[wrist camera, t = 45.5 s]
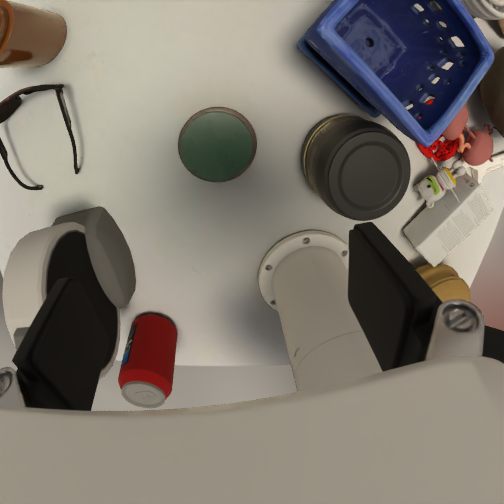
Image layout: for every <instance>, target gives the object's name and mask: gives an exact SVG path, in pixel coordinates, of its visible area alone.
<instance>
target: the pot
mask: <svg viewBox="0 0 504 504" xmlns="http://www.w3.org/2000/svg"><path fill="white" fill-rule="evenodd" d="M415 270H416V271H417V272H418V273H419V274H420V276H421V277H422V278H423V279H424V280H425V281H426V283H427V284H428V285H429V286H430V287H431V289H432V290H433V291H434V292H435V294H436V295H437V296H438V297H439V299H440V300H441V301H442V302H445V301H447V300H451V299H461V300H465V301H468V302H470V289H469V286H468V285H467V284H466V282H465V281H464V280H463V279H462V278H460V277H459V276H458V273H457V272H456V271H455V270H454V269H453V268H452V267H450V266H448V265H445V264H438V265H437V266H435V267H433V266H432V265H431V264H426V265H423V266H420V267H418V268H417V269H415Z"/></svg>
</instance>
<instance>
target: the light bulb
mask: <svg viewBox="0 0 504 504" xmlns="http://www.w3.org/2000/svg"><path fill="white" fill-rule="evenodd" d="M460 1H461V2H462V4H463V5H464V7H465V8H466V9H467V11H468V12H469V14H470V15H471V16H472V18H473V19H474V18H476V17H477V18H481V19H486V20H493V19H494V20H499V19H504V0H488V2H487V1H486V0H479V1H480V2H481V4H482V5H483V6H484V7H485V8H484V7H483V6H482V5H481V4H480V3H479V1H478V0H460ZM435 3H436V2H435ZM494 4H495V9H494ZM436 5H437V6H438V7H439V8H440V9H441V10H442V8H441V7H440V6H439V5H438V4H437V3H436ZM501 7H502V8H501Z"/></svg>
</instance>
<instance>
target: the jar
mask: <svg viewBox="0 0 504 504" xmlns="http://www.w3.org/2000/svg"><path fill="white" fill-rule="evenodd" d="M301 163H302V169H303V172H304V175H305V177H306V179H307V181H308V183H309V184H310V186H311V188H312V189H313V190H314V191H315V193H316V194H317V195H319V196H320V197H321V199H322V200H323V201H324V202H325V203H326V204H327V205H328V206H329V207H330V208H331V209H332V210H333V211H335V212H336V213H338V214H340V215H342V216H344V217H347V218H349V219H353V220H358V221H367V220H373V219H376V218H379V217H381V216H383V215H385V214H387V213H388V212H390V211H391V210H392V209H393V208H394V207H395V206H396V205H397V204H398V203H399V202H400V201H401V199H402V198H403V196H404V194H405V192H406V190H407V187H408V184H409V180H410V160H409V156H408V153H407V151H406V149H405V147H404V145H403V144H402V143H401V141H400V140H399V139H398V138H397V137H396V136H395V135H394V134H393V133H392V132H391V131H390V130H389V129H387V128H386V127H384V126H382V125H380V124H377V123H375V122H372V121H370V120H368V119H366V118H363V117H360V116H356V115H345V114H343V115H335V116H331V117H329V118H326V119H324V120H323V121H321V122H320V123H318V124H317V125H316V126H315V127H314V128H313V129H312V130H311V131H310V133H309V134H308V136H307V137H306V140H305V142H304V145H303V148H302V154H301Z"/></svg>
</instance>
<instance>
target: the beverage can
mask: <svg viewBox="0 0 504 504" xmlns="http://www.w3.org/2000/svg"><path fill="white" fill-rule="evenodd" d="M176 342H177V331H176V328H175V327H174V325H173V324H172V323H171V322H170V321H168V320H167V319H165V318H163V317H161V316H157V315H143V316H140V317H138V318H137V319H135V320H134V322H133V323H132V326H131V330H130V333H129V337H128V340H127V344H126V348H125V352H124V356H123V360H122V364H121V369H120V373H119V378H118V381H119V385H120V388H121V390H122V391H121V392H122V396H123V397H124V398H125V399H126V400H127V401H128V402H130V403H131V404H133V405H136V406H139V407H143V408H156V407H159V406H161V405H163V404H164V402H165V400H166V398H167V397H168V396H169V395H170V394H171V391H172V383H173V373H174V363H175V353H176Z"/></svg>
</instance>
